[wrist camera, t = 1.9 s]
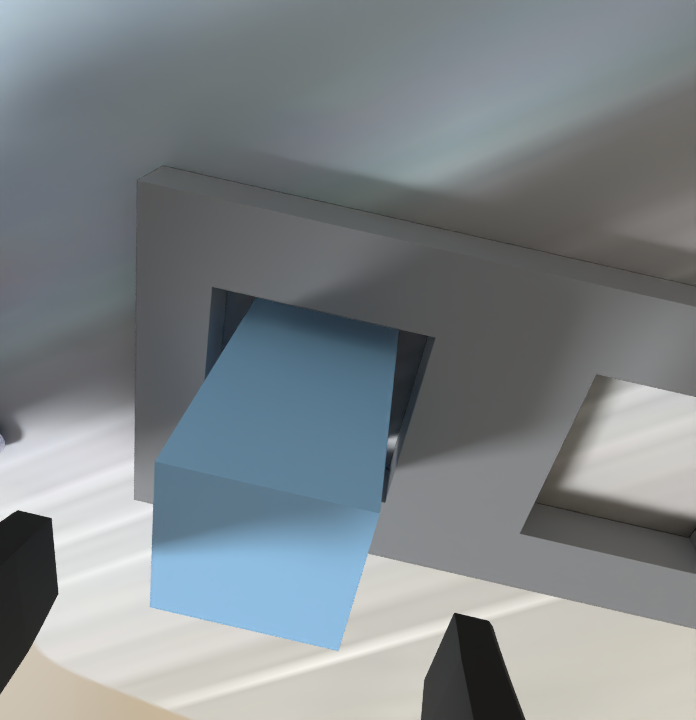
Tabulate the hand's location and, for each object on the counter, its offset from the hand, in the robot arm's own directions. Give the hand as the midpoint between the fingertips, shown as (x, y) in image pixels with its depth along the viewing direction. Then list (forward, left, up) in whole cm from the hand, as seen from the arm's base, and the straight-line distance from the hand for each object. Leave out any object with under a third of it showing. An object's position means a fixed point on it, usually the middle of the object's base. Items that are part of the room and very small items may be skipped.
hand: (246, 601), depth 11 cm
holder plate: (+4, -2, -8) cm, 9 cm away
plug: (0, 0, -8) cm, 8 cm away
